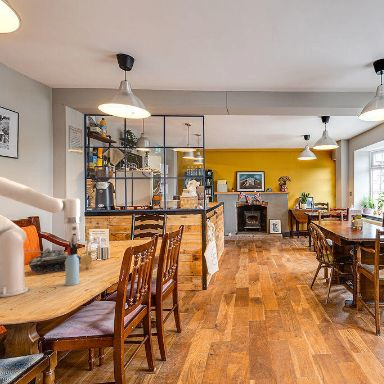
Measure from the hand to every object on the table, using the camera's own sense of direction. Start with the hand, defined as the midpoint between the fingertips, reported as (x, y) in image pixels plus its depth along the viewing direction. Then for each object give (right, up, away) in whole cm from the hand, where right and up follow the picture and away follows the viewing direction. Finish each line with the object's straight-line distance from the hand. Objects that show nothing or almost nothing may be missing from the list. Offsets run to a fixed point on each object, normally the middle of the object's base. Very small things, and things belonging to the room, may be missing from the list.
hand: (72, 252), depth 157 cm
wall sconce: (-9, -17, +30) cm, 36 cm away
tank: (-29, -17, +28) cm, 44 cm away
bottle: (0, -17, 0) cm, 17 cm away
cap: (0, -1, 0) cm, 1 cm away
